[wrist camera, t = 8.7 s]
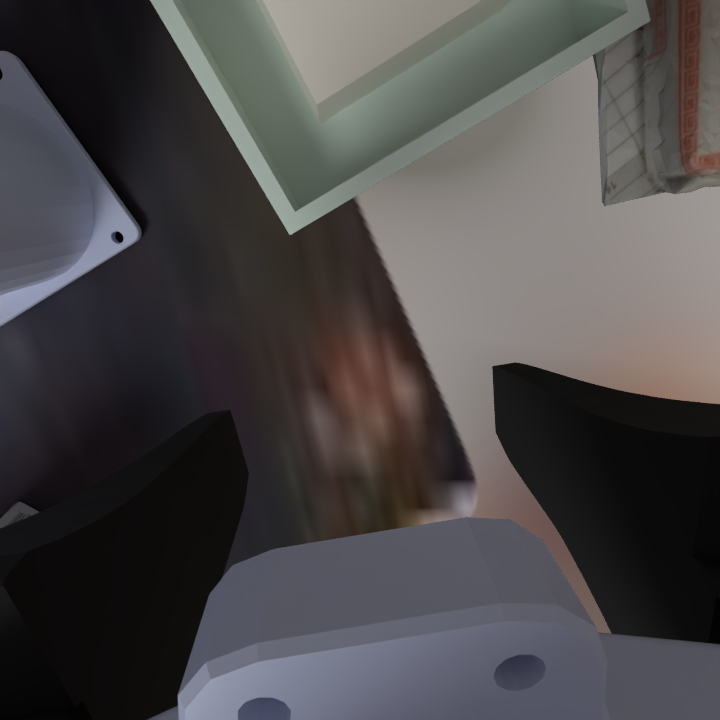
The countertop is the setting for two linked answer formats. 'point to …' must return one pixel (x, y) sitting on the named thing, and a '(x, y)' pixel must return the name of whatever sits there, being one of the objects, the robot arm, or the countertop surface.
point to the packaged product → (661, 103)
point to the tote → (376, 92)
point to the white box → (364, 41)
